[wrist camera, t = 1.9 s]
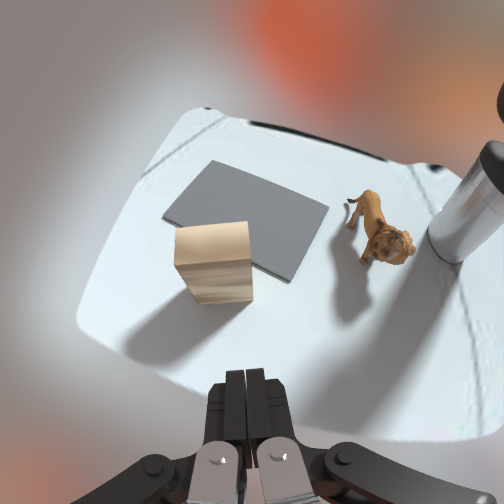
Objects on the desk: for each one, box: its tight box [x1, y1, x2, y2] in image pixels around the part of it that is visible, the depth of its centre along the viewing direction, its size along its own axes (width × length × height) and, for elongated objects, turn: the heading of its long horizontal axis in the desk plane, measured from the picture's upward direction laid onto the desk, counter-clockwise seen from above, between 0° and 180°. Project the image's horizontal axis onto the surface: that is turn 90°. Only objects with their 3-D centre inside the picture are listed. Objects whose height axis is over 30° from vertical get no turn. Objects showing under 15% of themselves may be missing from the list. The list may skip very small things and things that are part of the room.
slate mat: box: [163, 160, 329, 282], centre depth 41 cm, size 14×22×1 cm, turn 60°
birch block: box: [174, 221, 253, 305], centre depth 30 cm, size 4×7×12 cm, turn 95°
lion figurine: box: [347, 190, 416, 265], centre depth 35 cm, size 15×5×9 cm, turn 14°
